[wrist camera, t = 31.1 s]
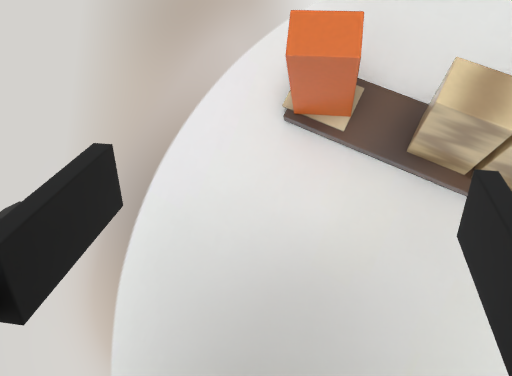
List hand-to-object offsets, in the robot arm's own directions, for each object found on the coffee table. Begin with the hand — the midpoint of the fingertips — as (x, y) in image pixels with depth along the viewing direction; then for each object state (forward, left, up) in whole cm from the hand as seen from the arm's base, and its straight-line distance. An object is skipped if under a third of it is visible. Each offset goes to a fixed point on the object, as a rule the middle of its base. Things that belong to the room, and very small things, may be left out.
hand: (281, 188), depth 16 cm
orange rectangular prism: (-4, +13, -21) cm, 25 cm away
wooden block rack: (+4, +13, -22) cm, 26 cm away
